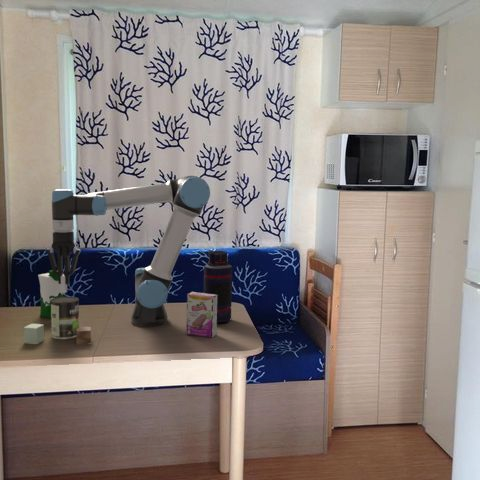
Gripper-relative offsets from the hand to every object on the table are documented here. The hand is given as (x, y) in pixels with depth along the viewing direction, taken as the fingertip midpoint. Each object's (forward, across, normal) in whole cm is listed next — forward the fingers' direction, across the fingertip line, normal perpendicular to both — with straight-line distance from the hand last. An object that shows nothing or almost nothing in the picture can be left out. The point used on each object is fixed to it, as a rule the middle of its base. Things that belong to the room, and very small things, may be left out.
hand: (64, 292), depth 206 cm
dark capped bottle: (+17, +57, +24) cm, 64 cm away
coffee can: (+17, 0, 0) cm, 17 cm away
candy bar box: (+17, +52, +4) cm, 55 cm away
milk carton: (+17, -14, +26) cm, 34 cm away
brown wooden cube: (+17, +9, -7) cm, 21 cm away
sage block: (+17, -9, -8) cm, 21 cm away
